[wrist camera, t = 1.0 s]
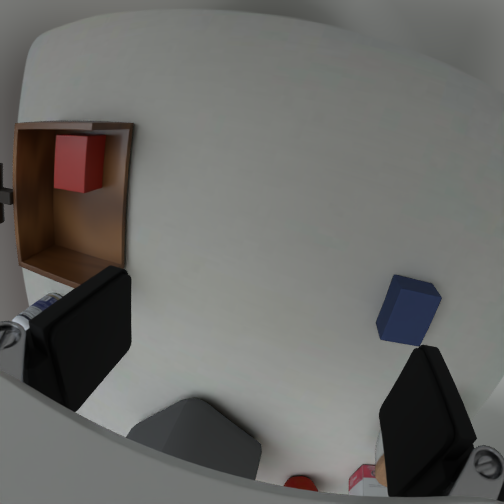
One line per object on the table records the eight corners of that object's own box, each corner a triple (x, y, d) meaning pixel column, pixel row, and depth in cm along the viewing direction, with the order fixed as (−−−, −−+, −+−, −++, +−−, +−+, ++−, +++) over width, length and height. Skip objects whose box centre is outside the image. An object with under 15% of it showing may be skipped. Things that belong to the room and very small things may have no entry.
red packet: (75, 132, 26) (56, 134, 23) (106, 134, 25) (87, 135, 23) (72, 183, 27) (53, 188, 25) (102, 188, 27) (84, 193, 24)
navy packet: (393, 273, 25) (401, 288, 23) (432, 283, 25) (442, 297, 22) (375, 322, 27) (379, 340, 25) (412, 329, 27) (419, 346, 24)
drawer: (33, 121, 27) (-12, 125, 20) (134, 122, 25) (87, 122, 19) (32, 239, 32) (-7, 258, 26) (124, 267, 30) (85, 297, 24)
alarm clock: (188, 462, 41) (154, 541, 27) (131, 419, 40) (81, 497, 25) (265, 434, 35) (239, 542, 21) (198, 381, 34) (142, 493, 19)
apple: (331, 478, 37) (328, 519, 30) (304, 491, 39) (299, 529, 32) (298, 465, 37) (292, 509, 30) (272, 479, 39) (264, 519, 32)
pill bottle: (73, 336, 36) (28, 379, 27) (45, 314, 36) (-2, 351, 27) (77, 307, 34) (25, 350, 25) (47, 284, 34) (-6, 320, 25)
